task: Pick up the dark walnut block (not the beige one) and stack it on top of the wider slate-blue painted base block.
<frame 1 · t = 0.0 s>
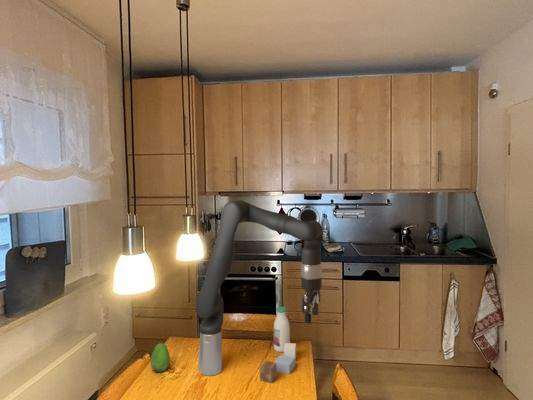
hand: (311, 318, 129), 29 cm above the table, fingers open, 8 cm apart
walnut block: (268, 378, 142), on the table
beige block: (290, 358, 158), on the table
milk bottle: (281, 349, 168), on the table
avocado: (160, 370, 150), on the table
base block: (284, 369, 150), on the table
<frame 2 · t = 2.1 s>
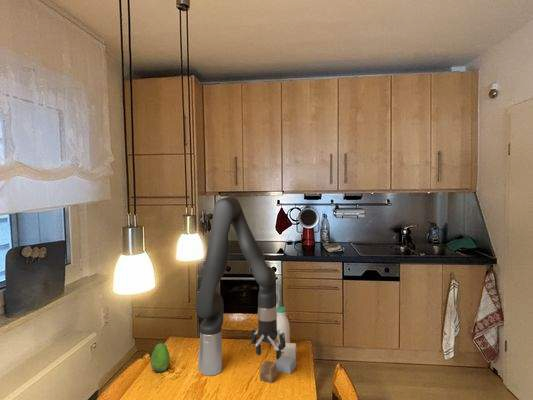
hand: (268, 356, 141), 9 cm above the table, fingers open, 8 cm apart
nothing on the table moved.
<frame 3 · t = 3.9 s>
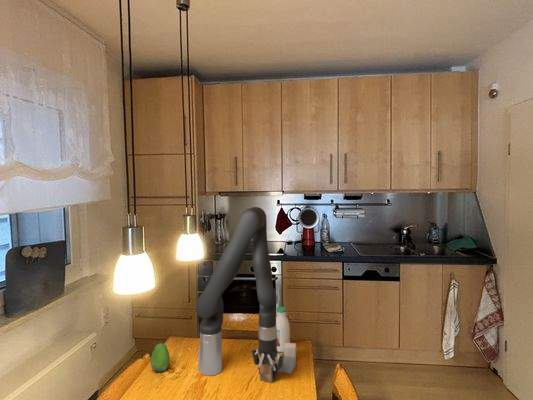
hand: (268, 376, 142), 1 cm above the table, fingers closed on walnut block, 5 cm apart
walnut block: (268, 378, 142), on the table, touching gripper
everything else where it was.
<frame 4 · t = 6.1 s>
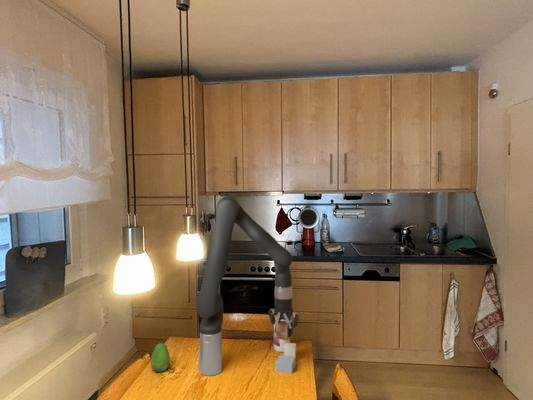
hand: (284, 334, 149), 15 cm above the table, fingers closed on walnut block, 5 cm apart
walnut block: (284, 337, 149), point 14 cm above the table, touching gripper
everything else where it was.
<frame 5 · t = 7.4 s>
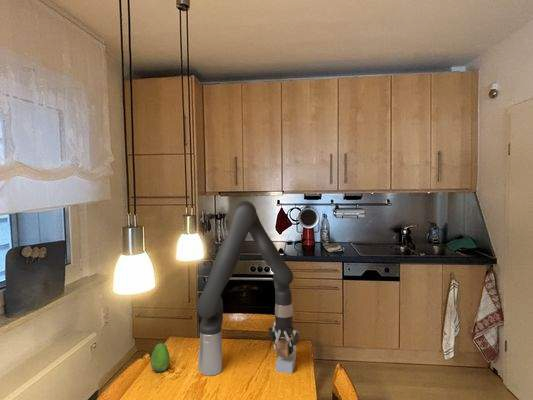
hand: (284, 352, 149), 7 cm above the table, fingers closed on walnut block, 5 cm apart
walnut block: (284, 354, 149), point 6 cm above the table, touching gripper
everything else where it was.
when the fingers open (7 cm above the table, at t = 8.2 s): walnut block drops 2 cm, resting on base block.
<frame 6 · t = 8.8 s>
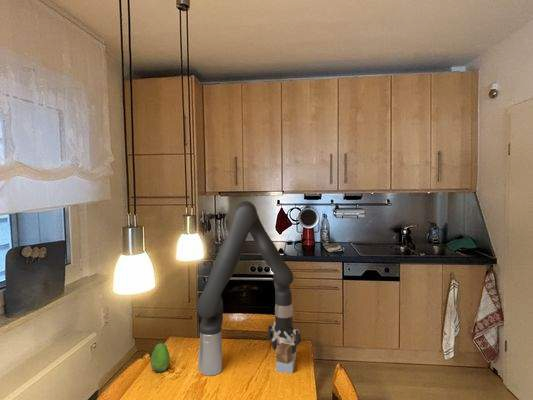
hand: (284, 351, 150), 8 cm above the table, fingers open, 8 cm apart
walnut block: (284, 359, 150), point 4 cm above the table, touching base block
base block: (285, 368, 150), on the table, touching walnut block
everything else where it was.
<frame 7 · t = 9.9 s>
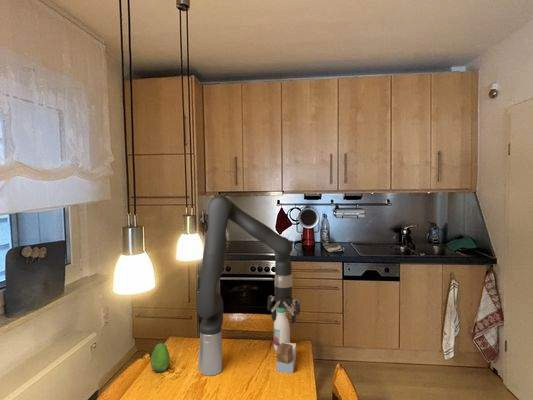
hand: (283, 321, 149), 20 cm above the table, fingers open, 8 cm apart
nothing on the table moved.
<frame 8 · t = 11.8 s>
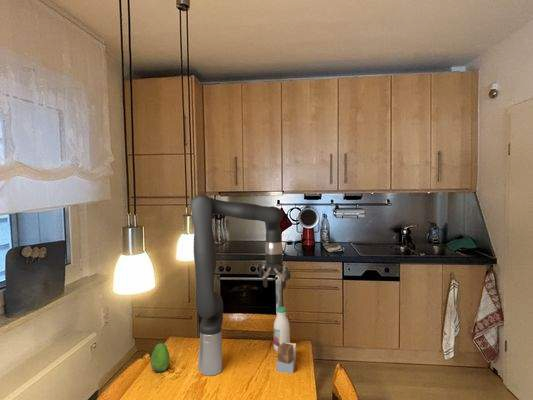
hand: (274, 288, 155), 33 cm above the table, fingers open, 8 cm apart
walnut block: (285, 359, 150), point 4 cm above the table
base block: (285, 368, 150), on the table
everything else where it was.
at the end: walnut block 0.1 cm off-centre on the base block, point 4.0 cm above the base block's base; walnut block tilted 0°; the gripper is holding nothing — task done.
